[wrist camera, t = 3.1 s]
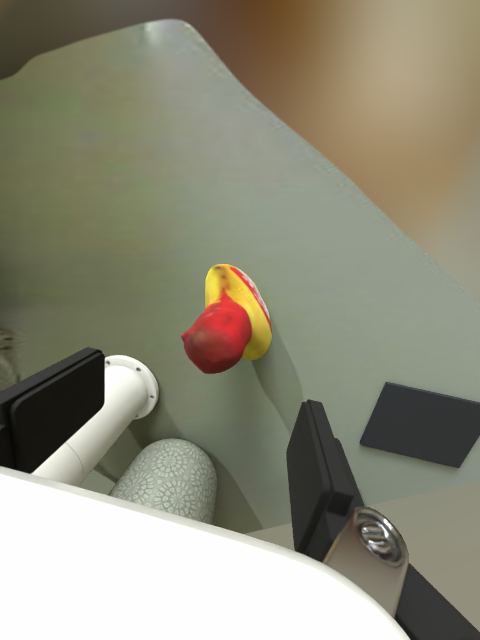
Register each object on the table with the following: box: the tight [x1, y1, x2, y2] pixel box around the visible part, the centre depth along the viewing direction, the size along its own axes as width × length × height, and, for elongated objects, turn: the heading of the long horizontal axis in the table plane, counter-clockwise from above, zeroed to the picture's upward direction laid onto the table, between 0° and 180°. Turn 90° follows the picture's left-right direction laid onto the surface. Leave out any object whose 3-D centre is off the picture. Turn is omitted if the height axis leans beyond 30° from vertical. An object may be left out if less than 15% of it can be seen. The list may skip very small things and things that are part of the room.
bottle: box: [181, 264, 272, 374], centre depth 24 cm, size 12×6×20 cm, turn 21°
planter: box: [108, 439, 217, 525], centre depth 37 cm, size 17×17×15 cm
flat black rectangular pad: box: [360, 382, 480, 468], centre depth 36 cm, size 16×12×1 cm
